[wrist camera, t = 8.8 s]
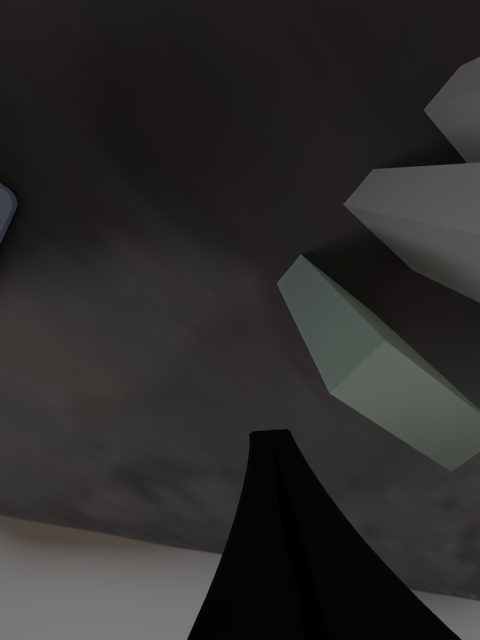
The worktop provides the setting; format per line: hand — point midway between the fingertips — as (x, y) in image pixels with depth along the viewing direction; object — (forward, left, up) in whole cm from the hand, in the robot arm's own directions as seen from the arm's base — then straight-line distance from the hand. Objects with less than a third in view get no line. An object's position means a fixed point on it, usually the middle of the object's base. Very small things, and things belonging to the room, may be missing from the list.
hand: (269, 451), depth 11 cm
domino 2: (0, +5, -5) cm, 7 cm away
